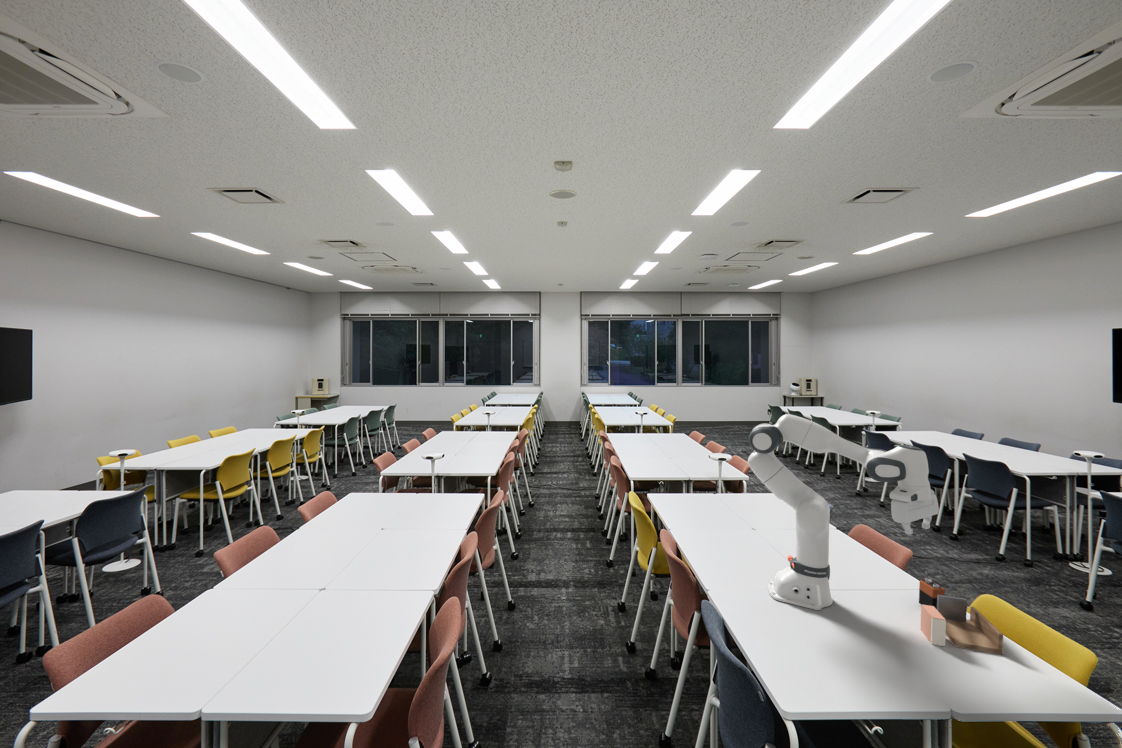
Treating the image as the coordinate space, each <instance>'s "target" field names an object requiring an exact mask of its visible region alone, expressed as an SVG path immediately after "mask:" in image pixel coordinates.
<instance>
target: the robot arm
mask: <svg viewBox="0 0 1122 748" xmlns="http://www.w3.org/2000/svg"><path fill="white" fill-rule="evenodd" d="M784 442H786V443H787V442H788V443H791V444H794V445H796V446H797V447H799V448H802V449H803V450H807V451H809V452H812V453H816V454H824V453H833V454H838V455H840V456H843V457H846V458H847V459H850V460H852V461H854V462H856V463H859V464H861V465H862V466H863V467H864V468H865V470H866V473H867V475H868V476H869V477H870V479H873V480H874V481H875V482H880V483H891V482H892V483H893V482H897V486H895V488H894V489H893V490H891V491H890V492H889V498H890V499H891V502H890V510H891V517H892V520H893V521H894V522H895V523H899V524H901V525H902V527H903V529H904V533H905V534H906V535H912V534H913V533H914V532H913V531H914V529H913V528H911V524H912V522H915V521H920V520H921V519H923V521H922V522H921V528H922V529H925V530H929V529H931V522H932V519H933V518H932V517H933V516H935V515H938V514H939V511H940V509H939V503H938V502H939V500H938V498H937V495H936V494H935V491H934V490H933V489H932V488H931V484H930V483H931V482H930V481H929V473H930V469H929V462H928V457H927V454H926V452H925V451H924V450H923V449H922V448H919V447H917V446H914V445H910V444H909V445H907V444H899V445H897V446H896V447H894V448H892V449H890V450H885V449H882V448H873V447H872V448H871V447H866V446H863V445H860V444H857V443H855V442H854V441H853V442H852V441H851V440H848V439H846V438H843V437H841V436H839V435H838V434H836V433H835V432H833V431H831V430H830V429H829V428H827V427H825V426H823V425H821V424H820V423H817V422H815V421H812V420H810V419H808V418H805V417H801V416H798V415H795V414H790V413H785V414H783V415H782V416H780V417H779V418H778V419H777V421H776V422H775V424H773V423H769V422H762V423H759V424H757V425H756V426H755V427H753V428H752V430H751V432H750V433H749V435H748V443H749V446H750V447H751V449H752V450H753V452H752V453H751V454H750V455H749V456H748V458H747V464H748V465H747V466H748V467H749V468H750V471H752V472H753V474H754V475H755V476H756V478H757V479H759V481H760V482H761V483H762V485H764V486H765V487H766V488H767V489H768V490H769V491H770V492H771V493H772V494H773V495H774V496H775V497H776V498H777V499H779V500H780V501H783V502H784V503H786V505H788V506H790V508H792V509H793V510H795V537H796V540H795V543H796V547H795V557H793V556H792V555H791V554H790V555H788V556H787V561H788V562H789V566H787V567H785V568H783V569H781V570H779V571H777V572H776V573H775V576H774V580H770V581H769V582H768V584H767V592H768V594H769V595H770V597H771V598H773V599H774V600H775V601H779V602H784V603H786V604H791V605H794V606H798V607H802V608H803V607H804V608H805V609H811V610H815V611H820V610H822V609H823V608H827V607H830V606H831V605H832V604H833V603H834V602H833V598H832V594H831V590H830V577H831V567H830V564H829V559H830V558H829V556H830V555H829V554H830V515H831V513H830V512H831V509H830V506H829V503H828V501H827V500H826V499H825V498H824V497H823V496H821V494H819V493H817V492H816V491H815V490H813V489H812V488H811V487H810V486H808V485H807V484H805V483H804V482H803V481H802V480H800V478H798V477H797V476H796V475H795V474H794V473H793V472H792V471H791V470H790V469H789V468H788V467H787V466H786V465H784V464H783V462H781V461H780V460H779V459H778V458H777V456H776V455H775V450H777V448H778V447H779V446H781V445H782V444H783V443H784Z"/></svg>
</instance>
